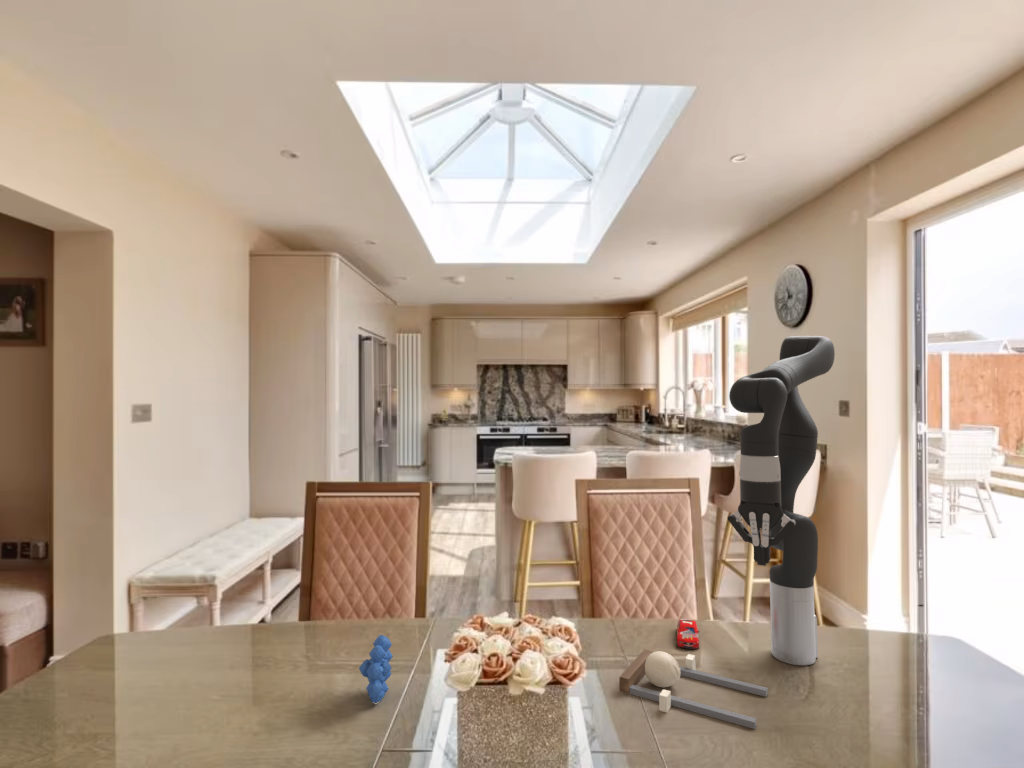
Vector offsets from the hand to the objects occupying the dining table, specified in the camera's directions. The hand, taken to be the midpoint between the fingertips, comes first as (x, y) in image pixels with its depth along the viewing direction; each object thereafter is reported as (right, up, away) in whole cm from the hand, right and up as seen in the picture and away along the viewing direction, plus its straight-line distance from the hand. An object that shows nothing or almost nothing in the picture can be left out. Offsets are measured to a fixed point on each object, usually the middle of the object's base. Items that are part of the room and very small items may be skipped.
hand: (762, 564), depth 113 cm
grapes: (-78, -28, +3) cm, 83 cm away
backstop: (-23, -28, +10) cm, 37 cm away
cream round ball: (-18, -28, +6) cm, 34 cm away
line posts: (-15, -27, +5) cm, 32 cm away
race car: (-6, -28, +29) cm, 41 cm away
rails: (-12, -27, +3) cm, 30 cm away
